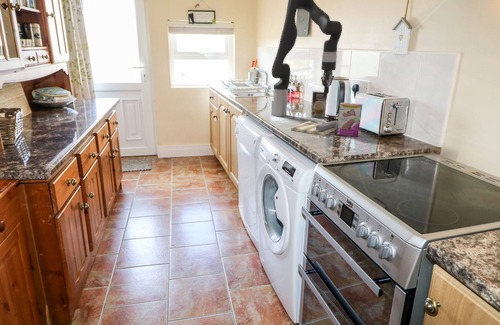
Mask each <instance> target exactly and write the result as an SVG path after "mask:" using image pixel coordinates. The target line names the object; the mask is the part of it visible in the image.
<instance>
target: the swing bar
mask: <svg viewBox="0 0 500 325" xmlns="http://www.w3.org/2000/svg"><path fill="white" fill-rule="evenodd" d="M337 123H338V120H331V121H327V122H325V123H324V124H321V125H318V126H316V130H321V131H322V130H325V129H328V128H331V127H334V126H337Z"/></svg>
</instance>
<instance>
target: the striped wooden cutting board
mask: <svg viewBox="0 0 500 325" xmlns="http://www.w3.org/2000/svg"><path fill="white" fill-rule="evenodd" d="M324 123H326V122H324V121H318V120H312V119H311V120H308V121H305V122H303V123H300V124H297V125H295V126H292V127H290V130H291V132H292V131H293V132H298V131H300V132H299V133H304V132H306V134H311V133H312V134H311V135H317V134H318V136H326V135H328V134H330V133H332V132H334V131H337V126H334V127H331V128H328V129H325V130H322V131H321V130H316V126H318V125H321V124H324Z"/></svg>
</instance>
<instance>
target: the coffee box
mask: <svg viewBox="0 0 500 325" xmlns="http://www.w3.org/2000/svg"><path fill="white" fill-rule="evenodd" d="M311 94H312V95H311V104H310V113H309V114H310V118H318V117H321V118H322V119H325V118H326V110H327V100H328V99H327V98H328V94H324V91H315V90H314V91H312V92H311ZM324 117H325V118H324Z"/></svg>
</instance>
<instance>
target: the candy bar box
mask: <svg viewBox="0 0 500 325" xmlns="http://www.w3.org/2000/svg"><path fill="white" fill-rule="evenodd" d="M338 106H339V107H338V116H337V129H336V130H335V131H336V134H335V135H336V136H341V137H342V136H345V137H353V138H358V137H359V132H360V127H361V126H360V124H361V119H362V118H361V117H362V111H363V110H362V109H363V104H361V103H352V102H351V103H349V102H340V103H339V105H338Z"/></svg>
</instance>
